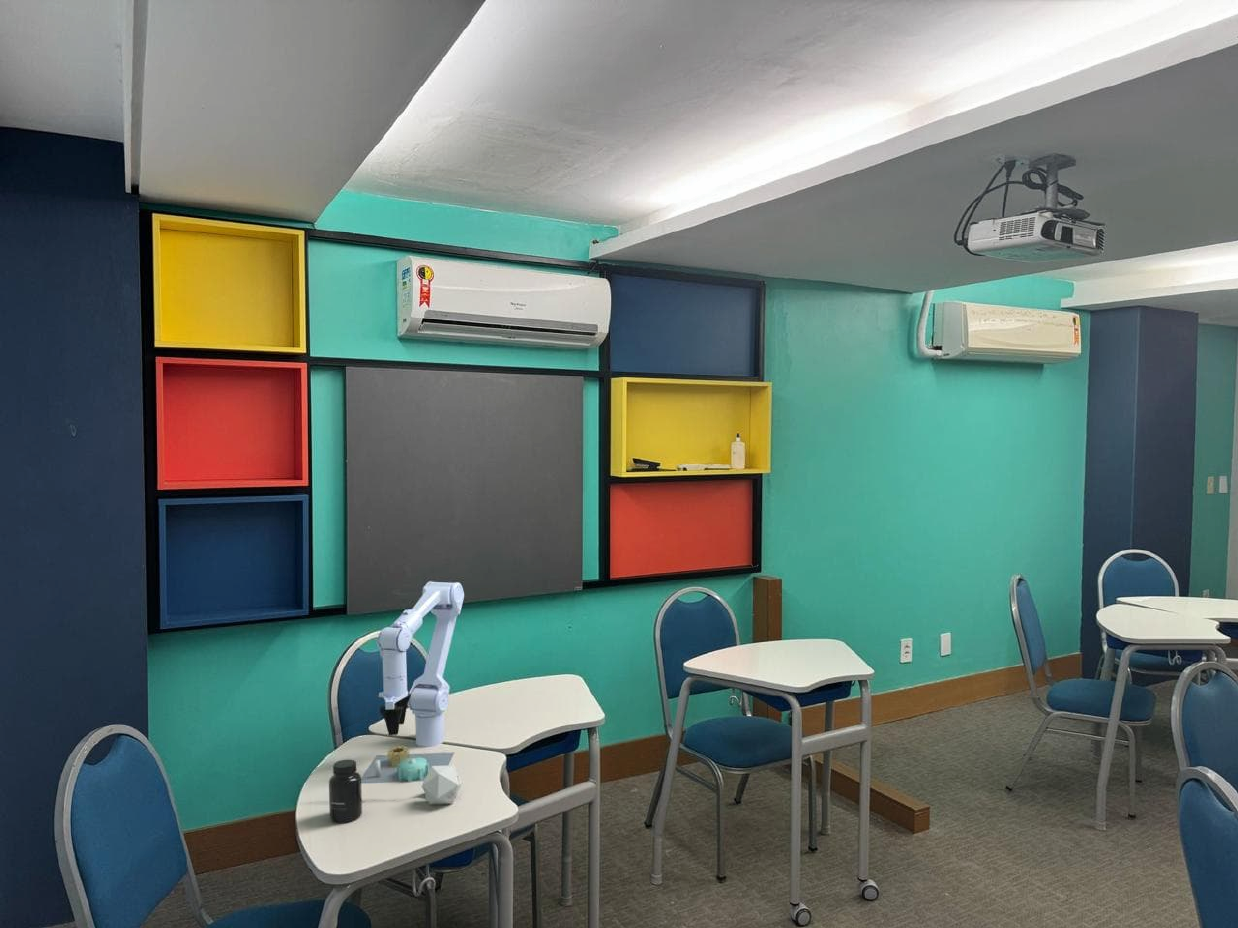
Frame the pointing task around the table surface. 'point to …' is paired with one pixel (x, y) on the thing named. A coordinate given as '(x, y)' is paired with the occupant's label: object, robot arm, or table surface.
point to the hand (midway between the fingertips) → (396, 729)
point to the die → (441, 784)
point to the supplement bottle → (345, 792)
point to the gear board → (393, 770)
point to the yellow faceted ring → (397, 755)
